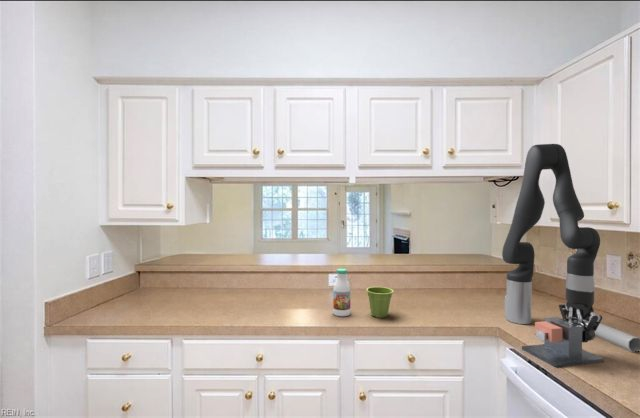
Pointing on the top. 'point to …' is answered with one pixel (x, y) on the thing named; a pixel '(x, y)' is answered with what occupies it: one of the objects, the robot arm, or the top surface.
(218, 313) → the top surface
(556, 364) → the bearing block
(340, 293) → the milk bottle
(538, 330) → the shaft
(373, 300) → the plant pot
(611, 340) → the tube
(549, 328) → the block
